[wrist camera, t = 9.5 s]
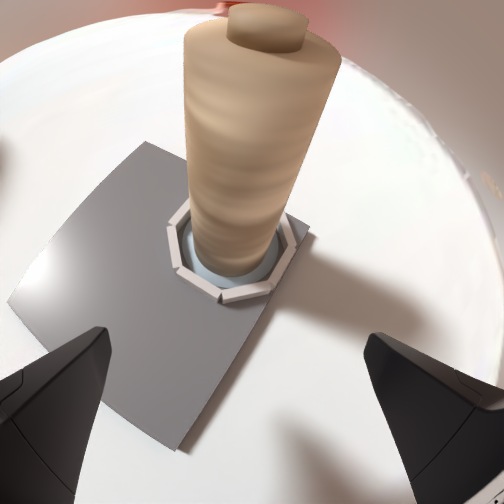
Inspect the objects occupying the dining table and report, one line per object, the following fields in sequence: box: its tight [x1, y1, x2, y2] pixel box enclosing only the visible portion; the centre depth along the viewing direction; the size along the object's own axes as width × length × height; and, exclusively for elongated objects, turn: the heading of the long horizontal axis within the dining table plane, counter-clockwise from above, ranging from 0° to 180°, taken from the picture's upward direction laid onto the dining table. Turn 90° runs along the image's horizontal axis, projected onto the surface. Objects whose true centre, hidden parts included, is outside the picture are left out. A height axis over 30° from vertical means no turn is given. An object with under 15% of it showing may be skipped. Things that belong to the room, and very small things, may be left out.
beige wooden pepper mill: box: [184, 3, 342, 277], centre depth 13 cm, size 5×5×15 cm
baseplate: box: [7, 141, 310, 452], centre depth 18 cm, size 16×18×2 cm
